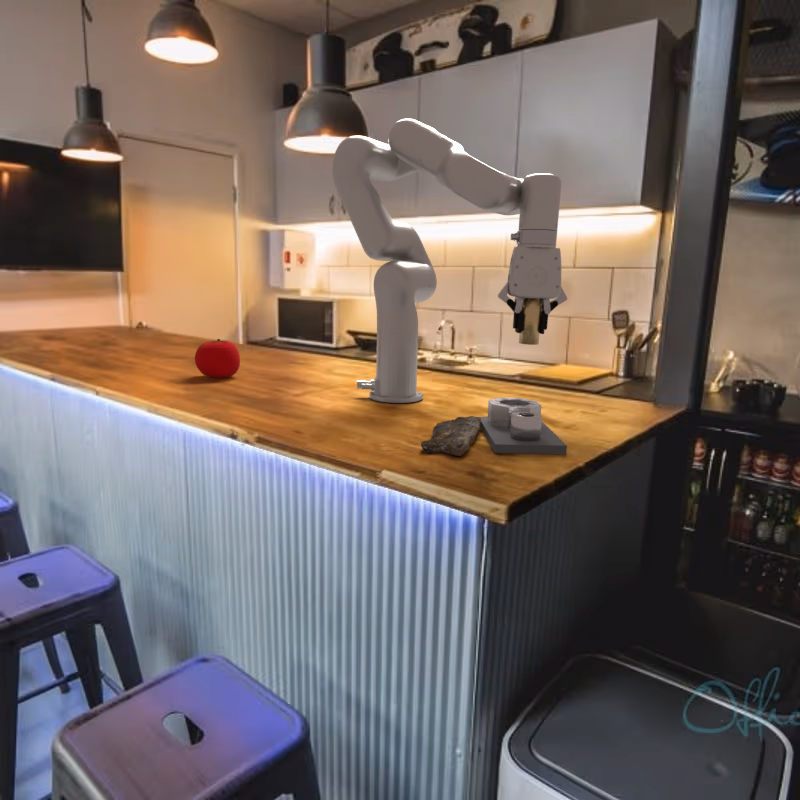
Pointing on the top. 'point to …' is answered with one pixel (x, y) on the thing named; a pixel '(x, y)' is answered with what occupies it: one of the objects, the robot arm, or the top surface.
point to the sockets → (516, 417)
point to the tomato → (217, 359)
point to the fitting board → (506, 444)
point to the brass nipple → (530, 321)
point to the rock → (452, 436)
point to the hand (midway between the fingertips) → (529, 331)
